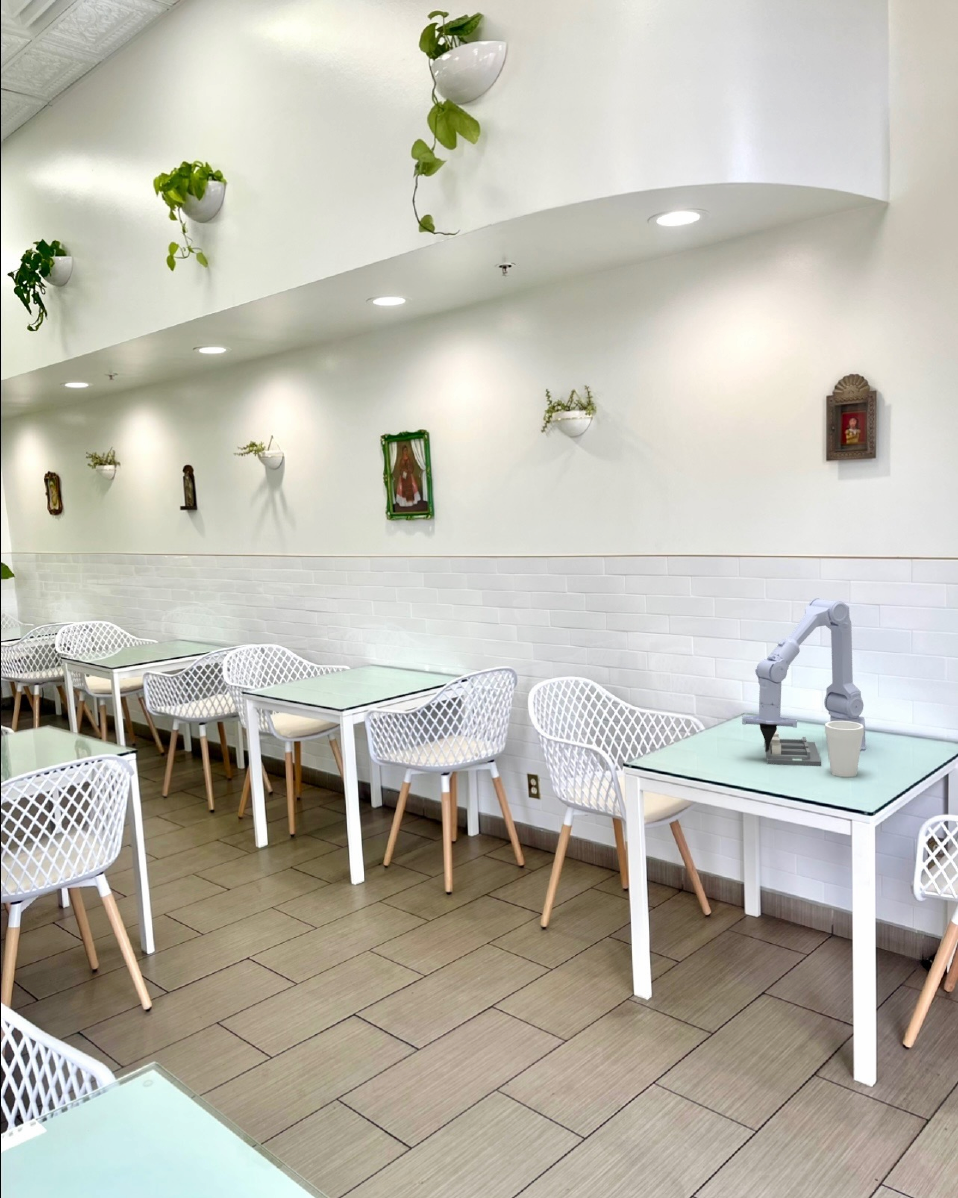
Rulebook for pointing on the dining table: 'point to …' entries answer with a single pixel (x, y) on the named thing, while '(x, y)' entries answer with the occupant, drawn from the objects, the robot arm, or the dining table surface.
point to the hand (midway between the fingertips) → (768, 750)
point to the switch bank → (795, 753)
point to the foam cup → (844, 746)
